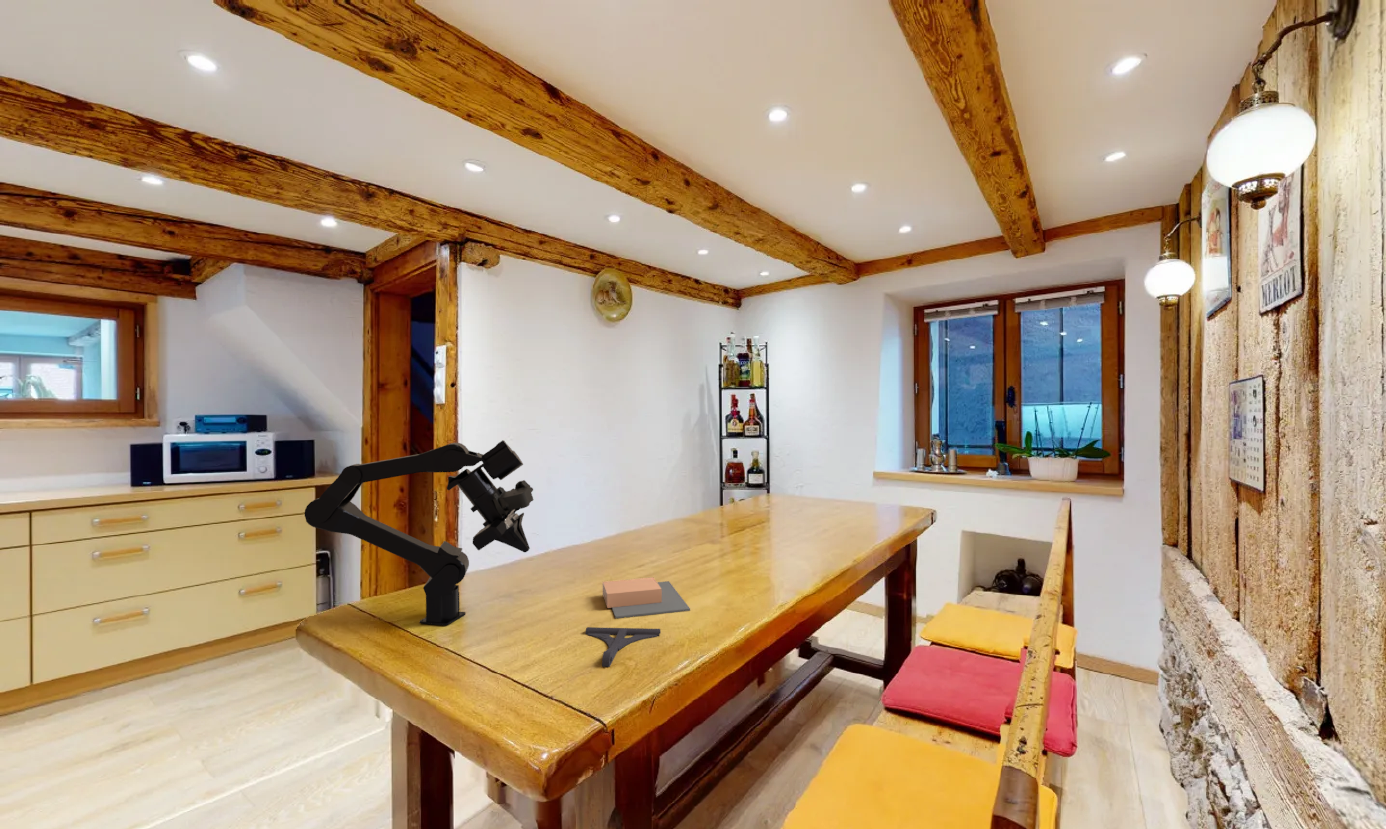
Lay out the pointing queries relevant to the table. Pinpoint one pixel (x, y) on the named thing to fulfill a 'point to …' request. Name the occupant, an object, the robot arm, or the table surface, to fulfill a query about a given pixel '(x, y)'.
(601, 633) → the bracket
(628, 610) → the mat
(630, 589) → the brick
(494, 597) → the table surface
